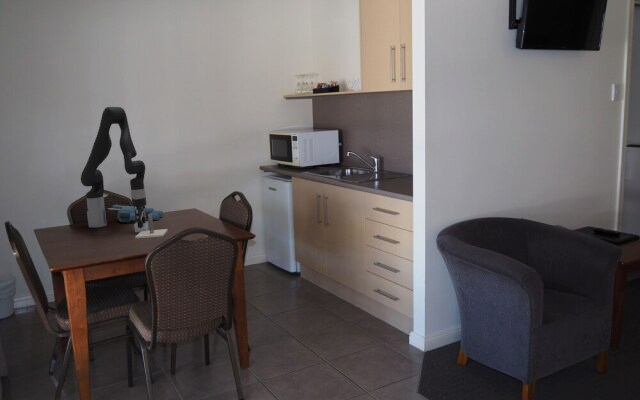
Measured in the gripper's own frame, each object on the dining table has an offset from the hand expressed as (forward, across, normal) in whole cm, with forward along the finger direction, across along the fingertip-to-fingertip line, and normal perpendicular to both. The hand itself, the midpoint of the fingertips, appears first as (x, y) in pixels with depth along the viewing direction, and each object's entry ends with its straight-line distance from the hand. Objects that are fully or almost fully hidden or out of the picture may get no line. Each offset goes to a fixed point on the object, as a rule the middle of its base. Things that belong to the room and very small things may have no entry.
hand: (141, 226), depth 311 cm
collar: (+3, 0, 0) cm, 3 cm away
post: (+3, +12, +8) cm, 14 cm away
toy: (+3, -34, -11) cm, 36 cm away
